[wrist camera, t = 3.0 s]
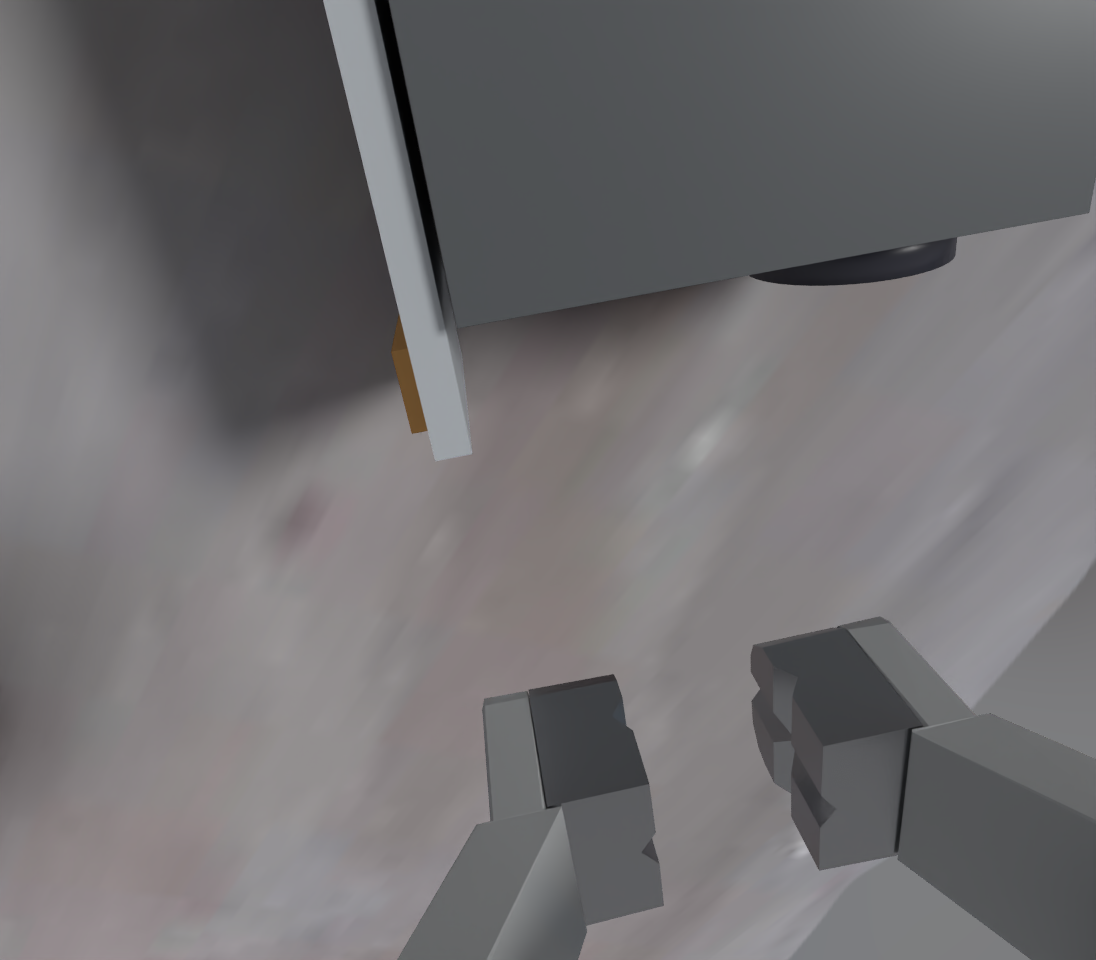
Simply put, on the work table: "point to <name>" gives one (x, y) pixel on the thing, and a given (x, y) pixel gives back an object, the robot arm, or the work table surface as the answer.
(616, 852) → the robot arm
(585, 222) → the cabinet body
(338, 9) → the door
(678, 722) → the work table surface
